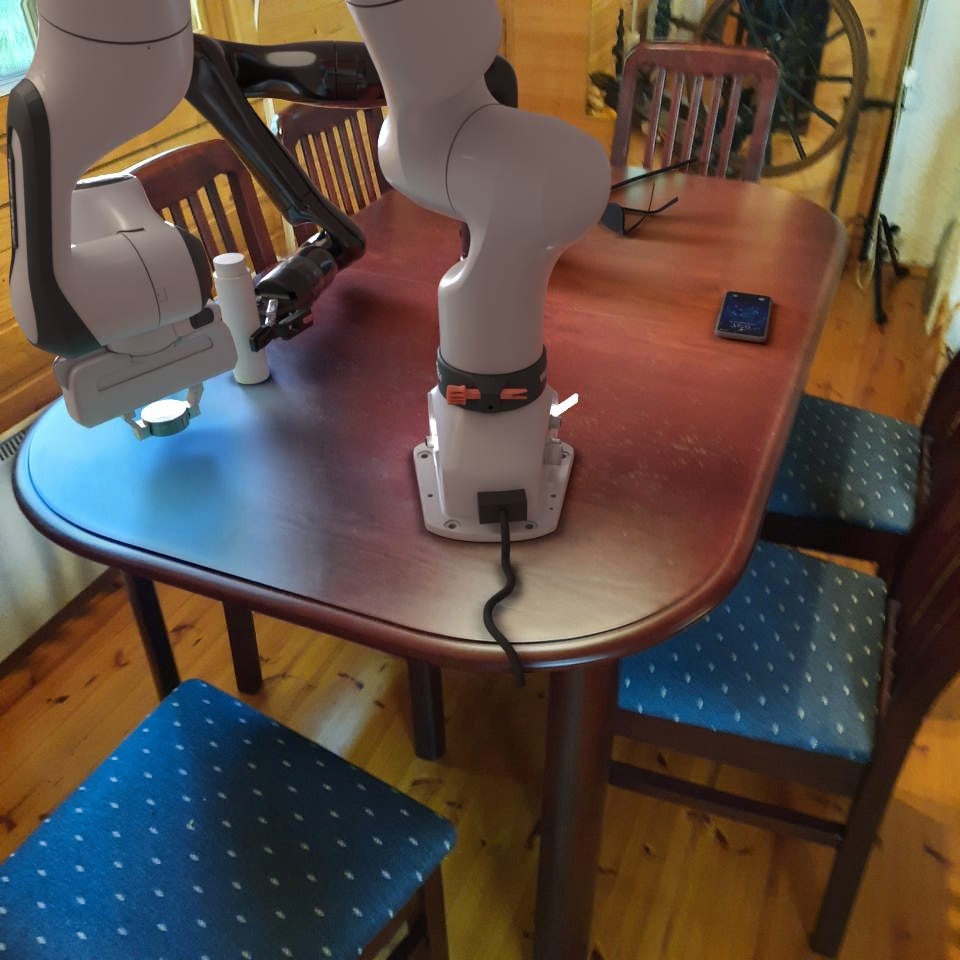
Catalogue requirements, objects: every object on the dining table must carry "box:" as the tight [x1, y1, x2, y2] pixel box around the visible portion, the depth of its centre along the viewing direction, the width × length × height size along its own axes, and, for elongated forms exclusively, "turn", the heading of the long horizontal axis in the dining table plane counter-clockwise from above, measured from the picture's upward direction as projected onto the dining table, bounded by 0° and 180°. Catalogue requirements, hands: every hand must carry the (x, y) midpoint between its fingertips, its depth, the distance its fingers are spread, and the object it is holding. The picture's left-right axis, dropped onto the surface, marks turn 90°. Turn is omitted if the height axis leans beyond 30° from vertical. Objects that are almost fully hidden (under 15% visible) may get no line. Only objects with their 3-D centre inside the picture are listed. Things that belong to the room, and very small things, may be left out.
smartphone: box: [714, 290, 774, 343], centre depth 128 cm, size 7×1×15 cm
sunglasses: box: [599, 181, 679, 236], centre depth 161 cm, size 17×14×5 cm
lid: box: [140, 399, 191, 438], centre depth 103 cm, size 5×5×2 cm
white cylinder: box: [212, 252, 270, 385], centre depth 113 cm, size 5×5×17 cm
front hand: (168, 426), depth 104 cm, fingers closed on lid, 5 cm apart
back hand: (234, 343), depth 112 cm, fingers closed on white cylinder, 4 cm apart
